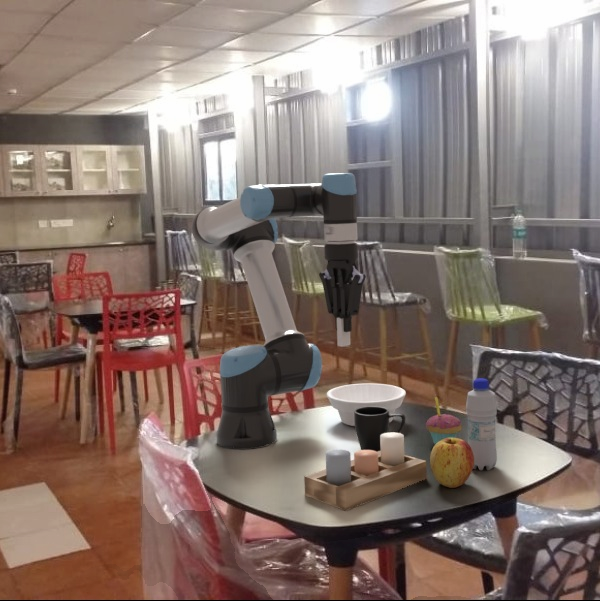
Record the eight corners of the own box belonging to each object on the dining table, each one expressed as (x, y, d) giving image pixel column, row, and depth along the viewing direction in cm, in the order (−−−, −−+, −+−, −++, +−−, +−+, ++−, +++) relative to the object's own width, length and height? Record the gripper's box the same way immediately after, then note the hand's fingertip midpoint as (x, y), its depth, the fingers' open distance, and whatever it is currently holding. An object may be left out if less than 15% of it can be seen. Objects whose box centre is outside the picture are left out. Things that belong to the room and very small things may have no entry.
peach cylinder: (349, 481, 172) (349, 453, 171) (366, 475, 175) (365, 448, 174) (367, 487, 168) (366, 459, 167) (383, 481, 171) (383, 453, 171)
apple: (481, 490, 168) (481, 442, 166) (439, 494, 166) (439, 446, 165) (463, 475, 177) (463, 430, 175) (423, 480, 175) (422, 434, 173)
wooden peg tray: (304, 495, 168) (304, 476, 168) (385, 466, 184) (384, 449, 183) (346, 510, 159) (345, 490, 159) (426, 479, 175) (426, 460, 174)
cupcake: (422, 447, 197) (421, 398, 195) (430, 436, 205) (429, 389, 203) (458, 450, 194) (457, 400, 192) (465, 439, 201) (464, 391, 200)
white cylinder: (376, 463, 177) (375, 436, 176) (391, 457, 180) (391, 431, 179) (393, 468, 173) (392, 440, 172) (409, 462, 176) (408, 435, 175)
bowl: (318, 416, 228) (317, 387, 227) (390, 408, 233) (389, 380, 231) (340, 437, 207) (339, 405, 206) (418, 428, 212) (418, 397, 211)
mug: (402, 456, 190) (401, 416, 189) (351, 453, 194) (350, 414, 192) (408, 445, 198) (407, 407, 197) (359, 443, 202) (358, 405, 200)
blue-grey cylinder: (321, 482, 166) (320, 453, 166) (339, 476, 170) (338, 447, 169) (338, 488, 163) (337, 459, 162) (356, 481, 166) (355, 453, 165)
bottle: (480, 474, 177) (479, 383, 174) (460, 465, 183) (459, 377, 180) (504, 468, 180) (503, 379, 177) (484, 460, 186) (483, 373, 183)
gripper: (309, 242, 188) (312, 344, 191) (349, 244, 178) (352, 351, 181) (333, 240, 192) (336, 340, 195) (373, 241, 183) (376, 346, 186)
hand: (344, 345), depth 188 cm, fingers closed
